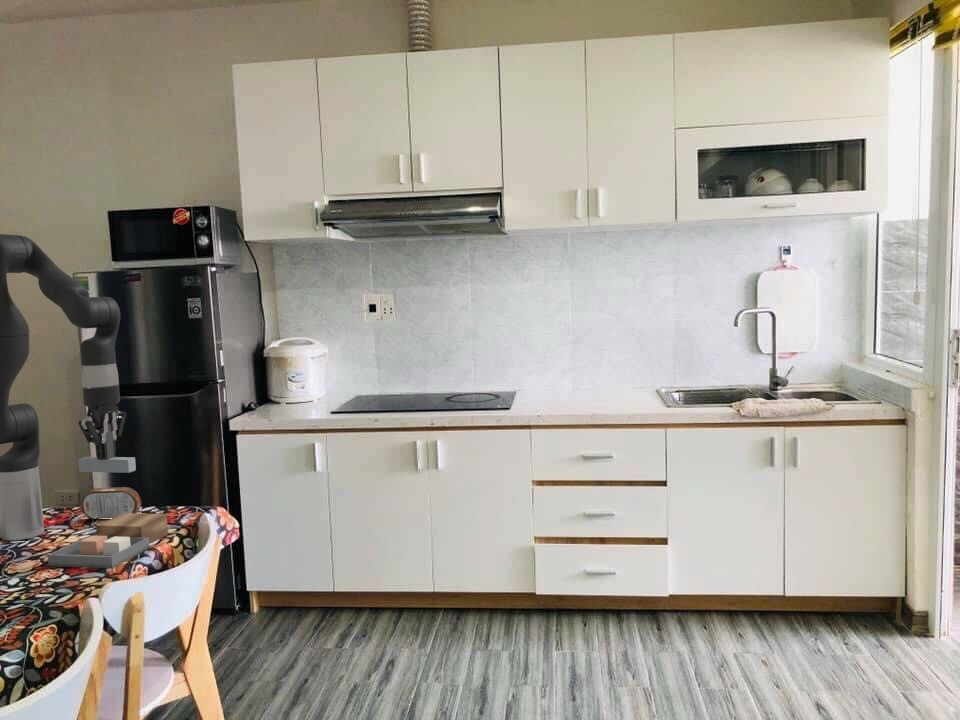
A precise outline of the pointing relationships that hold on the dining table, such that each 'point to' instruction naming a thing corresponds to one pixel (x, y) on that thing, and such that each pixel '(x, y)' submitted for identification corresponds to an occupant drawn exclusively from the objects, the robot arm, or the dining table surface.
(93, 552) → the tile
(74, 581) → the dining table surface
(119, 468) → the grey t-shaped tool
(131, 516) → the tan slab
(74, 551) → the box
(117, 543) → the tile
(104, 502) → the tin
